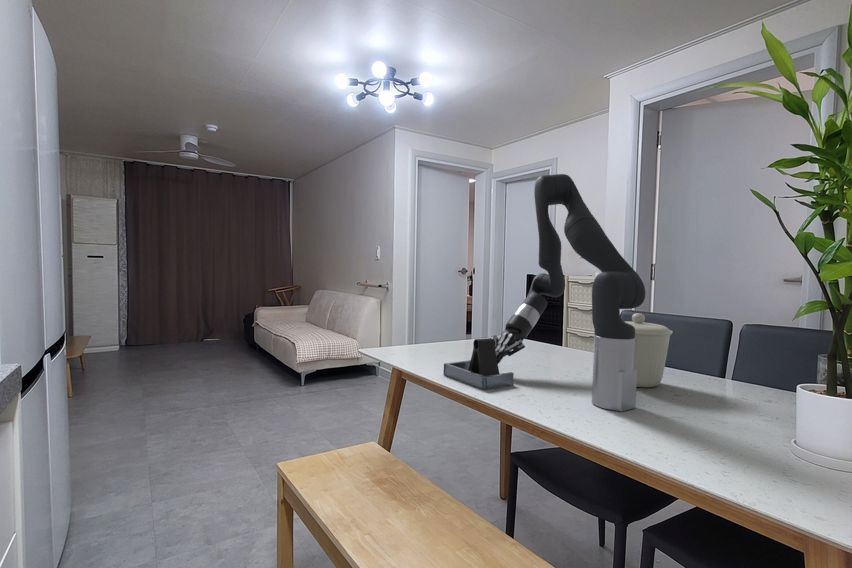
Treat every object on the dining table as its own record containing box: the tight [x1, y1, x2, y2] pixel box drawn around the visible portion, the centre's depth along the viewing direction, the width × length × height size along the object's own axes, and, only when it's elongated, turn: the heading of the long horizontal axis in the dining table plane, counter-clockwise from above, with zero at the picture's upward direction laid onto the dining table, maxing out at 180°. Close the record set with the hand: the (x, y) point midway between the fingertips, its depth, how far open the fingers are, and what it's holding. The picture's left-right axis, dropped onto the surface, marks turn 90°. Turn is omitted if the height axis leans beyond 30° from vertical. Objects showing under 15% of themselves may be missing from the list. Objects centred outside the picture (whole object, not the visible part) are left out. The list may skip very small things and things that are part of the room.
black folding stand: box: [468, 337, 500, 376], centre depth 130 cm, size 9×6×12 cm, turn 27°
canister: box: [623, 312, 673, 388], centre depth 129 cm, size 18×18×21 cm
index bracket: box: [443, 359, 515, 391], centre depth 129 cm, size 19×11×4 cm, turn 34°
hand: (493, 363), depth 132 cm, fingers closed
